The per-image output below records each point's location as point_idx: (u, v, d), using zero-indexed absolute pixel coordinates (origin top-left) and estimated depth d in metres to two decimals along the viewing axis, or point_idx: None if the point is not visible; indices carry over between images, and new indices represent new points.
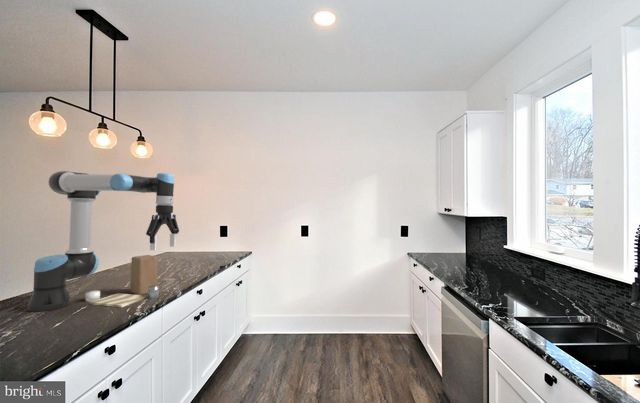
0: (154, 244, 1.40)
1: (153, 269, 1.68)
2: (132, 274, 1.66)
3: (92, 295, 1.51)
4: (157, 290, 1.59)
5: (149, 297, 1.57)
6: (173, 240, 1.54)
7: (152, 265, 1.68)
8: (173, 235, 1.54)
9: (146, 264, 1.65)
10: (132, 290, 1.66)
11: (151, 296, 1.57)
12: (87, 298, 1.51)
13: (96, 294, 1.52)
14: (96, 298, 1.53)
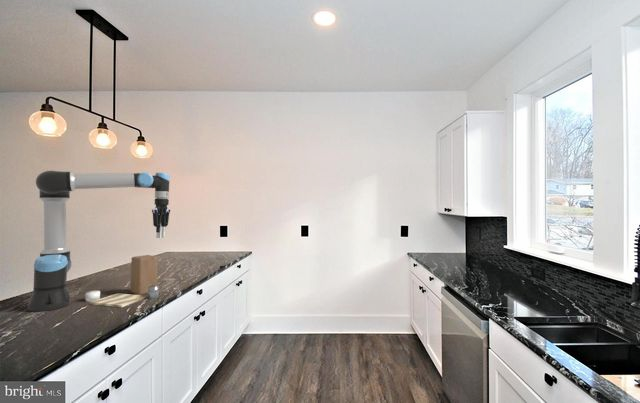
0: (159, 233, 1.79)
1: (153, 269, 1.68)
2: (132, 274, 1.66)
3: (92, 295, 1.51)
4: (157, 290, 1.59)
5: (149, 297, 1.57)
6: (162, 232, 1.82)
7: (152, 265, 1.68)
8: (162, 228, 1.82)
9: (146, 264, 1.65)
10: (132, 290, 1.66)
11: (151, 296, 1.57)
12: (87, 298, 1.51)
13: (96, 294, 1.52)
14: (96, 298, 1.53)
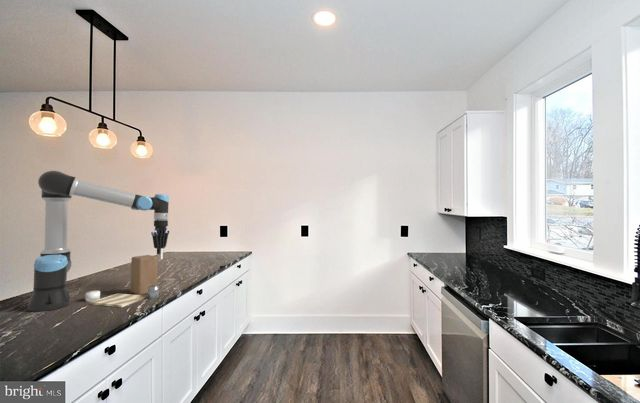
0: (160, 255, 1.80)
1: (153, 269, 1.68)
2: (132, 274, 1.66)
3: (92, 295, 1.51)
4: (157, 290, 1.59)
5: (149, 297, 1.57)
6: None
7: (152, 265, 1.68)
8: None
9: (146, 264, 1.65)
10: (132, 290, 1.66)
11: (151, 296, 1.57)
12: (87, 298, 1.51)
13: (96, 294, 1.52)
14: (96, 298, 1.53)
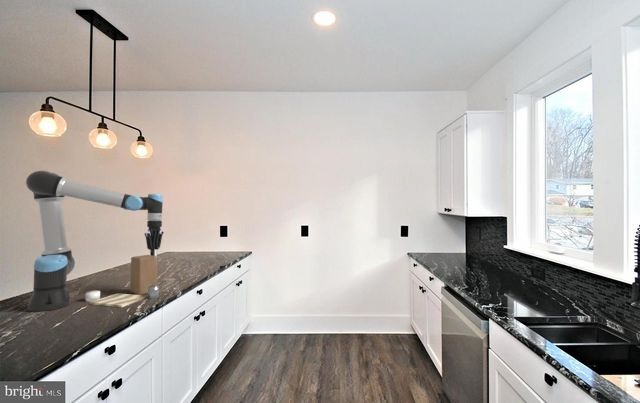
0: None
1: (152, 269, 1.68)
2: (132, 274, 1.66)
3: (92, 295, 1.51)
4: (157, 290, 1.59)
5: (149, 297, 1.57)
6: None
7: (152, 265, 1.68)
8: None
9: (145, 264, 1.65)
10: (132, 290, 1.66)
11: (151, 296, 1.57)
12: (87, 298, 1.51)
13: (96, 294, 1.52)
14: (96, 298, 1.53)
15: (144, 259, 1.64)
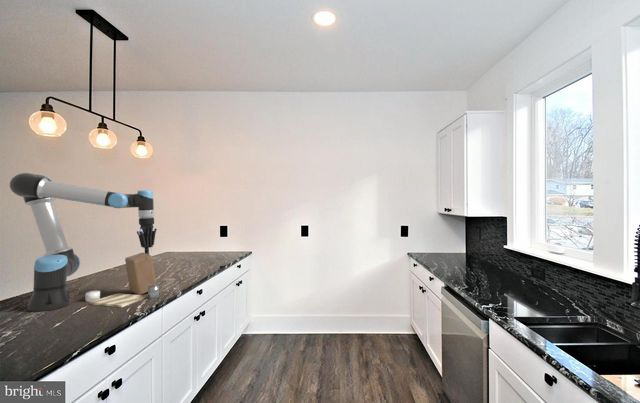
0: (148, 254, 1.70)
1: (149, 269, 1.65)
2: (128, 275, 1.63)
3: (92, 295, 1.51)
4: (157, 290, 1.59)
5: (149, 297, 1.57)
6: (149, 253, 1.71)
7: (147, 265, 1.64)
8: (148, 249, 1.71)
9: (140, 266, 1.61)
10: (131, 289, 1.65)
11: (151, 296, 1.57)
12: (87, 298, 1.51)
13: (96, 294, 1.52)
14: (96, 298, 1.53)
15: (138, 261, 1.60)
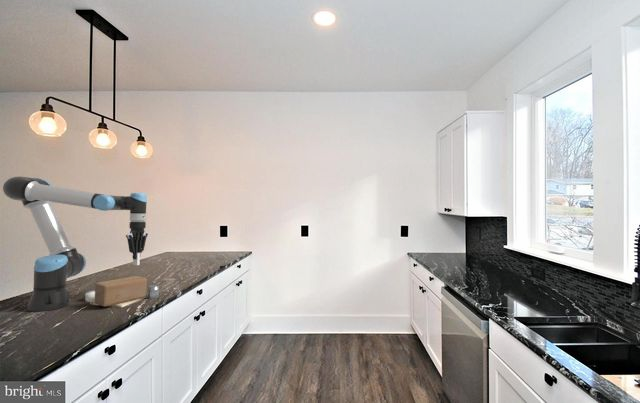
0: (136, 260, 1.62)
1: None
2: None
3: (92, 295, 1.51)
4: (157, 290, 1.59)
5: (149, 297, 1.57)
6: None
7: None
8: None
9: None
10: None
11: (151, 296, 1.57)
12: (87, 298, 1.51)
13: None
14: None
15: (97, 303, 1.44)
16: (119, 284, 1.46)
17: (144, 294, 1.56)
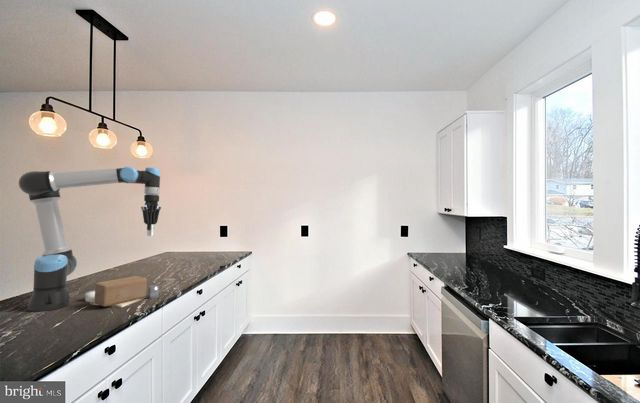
0: (150, 231, 1.72)
1: None
2: None
3: (92, 295, 1.51)
4: (157, 290, 1.59)
5: (149, 297, 1.57)
6: None
7: None
8: None
9: None
10: None
11: (151, 296, 1.57)
12: (87, 298, 1.51)
13: None
14: None
15: (97, 303, 1.44)
16: (119, 284, 1.46)
17: (144, 294, 1.56)
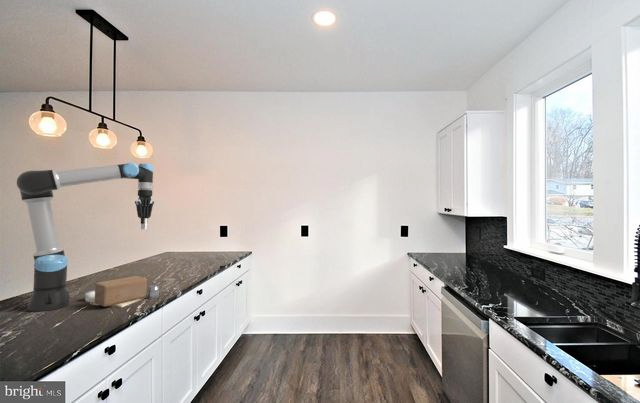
0: (144, 224, 1.79)
1: None
2: None
3: (92, 295, 1.51)
4: (157, 290, 1.59)
5: (149, 297, 1.57)
6: None
7: None
8: None
9: None
10: None
11: (151, 296, 1.57)
12: (87, 298, 1.51)
13: None
14: None
15: (97, 303, 1.44)
16: (119, 284, 1.46)
17: (144, 294, 1.56)
